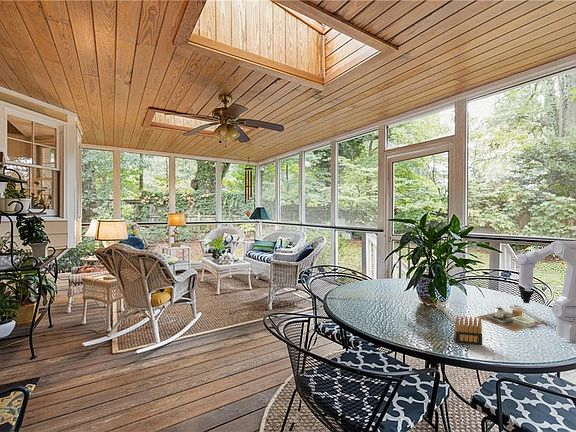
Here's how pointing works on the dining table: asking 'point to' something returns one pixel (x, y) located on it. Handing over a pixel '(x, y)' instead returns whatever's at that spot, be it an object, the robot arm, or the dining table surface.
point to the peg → (499, 313)
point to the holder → (505, 322)
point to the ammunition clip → (468, 331)
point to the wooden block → (514, 313)
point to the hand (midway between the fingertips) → (525, 301)
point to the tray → (523, 321)
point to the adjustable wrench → (528, 313)
